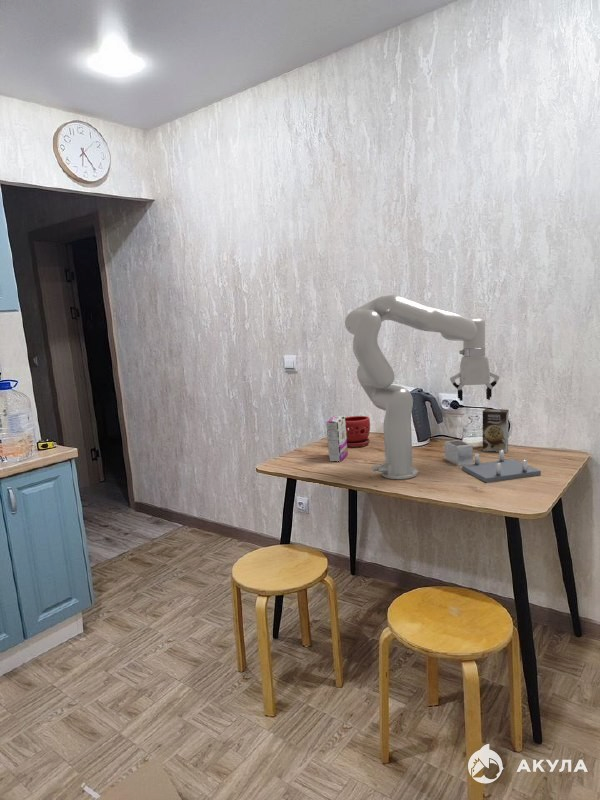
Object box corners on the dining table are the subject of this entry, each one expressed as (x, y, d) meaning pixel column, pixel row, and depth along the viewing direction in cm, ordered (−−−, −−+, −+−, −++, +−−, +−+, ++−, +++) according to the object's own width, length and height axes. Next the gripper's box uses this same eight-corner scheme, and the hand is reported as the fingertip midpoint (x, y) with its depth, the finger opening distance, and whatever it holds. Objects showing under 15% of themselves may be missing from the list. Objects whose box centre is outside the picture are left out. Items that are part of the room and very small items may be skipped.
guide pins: (497, 476, 179) (497, 464, 179) (473, 464, 194) (473, 453, 193) (528, 472, 181) (528, 460, 181) (502, 460, 196) (502, 449, 195)
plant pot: (373, 441, 244) (371, 414, 242) (367, 448, 232) (366, 421, 230) (344, 441, 248) (343, 415, 246) (337, 448, 236) (336, 421, 234)
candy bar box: (336, 454, 226) (334, 415, 223) (348, 454, 224) (345, 415, 222) (328, 462, 216) (325, 421, 213) (340, 462, 214) (338, 421, 211)
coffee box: (482, 451, 215) (481, 411, 213) (485, 447, 221) (484, 408, 218) (506, 452, 211) (506, 411, 208) (509, 448, 216) (508, 408, 214)
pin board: (486, 482, 178) (486, 478, 178) (462, 469, 194) (462, 465, 194) (540, 475, 182) (540, 470, 182) (512, 462, 198) (512, 458, 197)
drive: (457, 466, 199) (457, 447, 198) (445, 459, 208) (444, 441, 207) (473, 464, 200) (472, 445, 199) (459, 457, 210) (459, 439, 208)
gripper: (451, 355, 195) (451, 402, 197) (501, 352, 192) (501, 400, 195) (448, 353, 202) (448, 399, 205) (496, 351, 200) (496, 397, 202)
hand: (474, 399), depth 200 cm, fingers open, 9 cm apart
